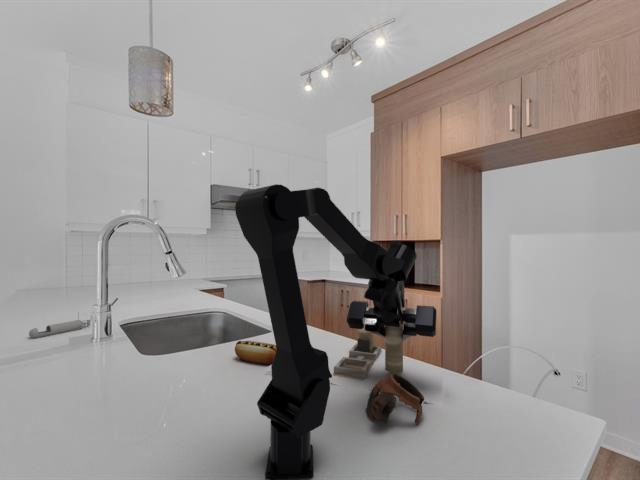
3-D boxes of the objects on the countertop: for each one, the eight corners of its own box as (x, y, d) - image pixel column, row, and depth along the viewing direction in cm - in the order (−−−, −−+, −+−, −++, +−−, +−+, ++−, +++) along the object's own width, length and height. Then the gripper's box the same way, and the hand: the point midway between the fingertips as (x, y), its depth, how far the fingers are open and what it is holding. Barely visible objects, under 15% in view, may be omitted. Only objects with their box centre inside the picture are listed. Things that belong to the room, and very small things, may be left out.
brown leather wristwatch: (372, 401, 65) (393, 366, 64) (412, 437, 59) (435, 400, 59) (346, 411, 55) (371, 371, 55) (392, 456, 49) (419, 411, 49)
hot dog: (273, 369, 80) (273, 349, 80) (230, 361, 85) (230, 342, 85) (282, 362, 85) (282, 343, 85) (241, 355, 90) (241, 337, 90)
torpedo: (32, 340, 104) (33, 320, 104) (26, 338, 106) (26, 319, 106) (93, 328, 119) (93, 310, 120) (86, 326, 122) (87, 309, 122)
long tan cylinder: (370, 358, 84) (370, 308, 84) (356, 356, 86) (356, 307, 86) (374, 352, 88) (374, 305, 88) (360, 350, 90) (360, 304, 90)
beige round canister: (401, 374, 71) (401, 315, 71) (383, 371, 72) (383, 314, 72) (404, 367, 75) (404, 312, 75) (387, 364, 76) (387, 310, 77)
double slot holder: (362, 385, 70) (362, 373, 71) (332, 380, 73) (332, 368, 73) (382, 355, 90) (382, 345, 90) (357, 351, 93) (357, 342, 93)
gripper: (436, 268, 66) (438, 311, 76) (350, 266, 74) (362, 305, 84) (434, 314, 59) (436, 354, 69) (339, 306, 66) (354, 344, 76)
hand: (395, 337), depth 75 cm, fingers closed on beige round canister, 4 cm apart
